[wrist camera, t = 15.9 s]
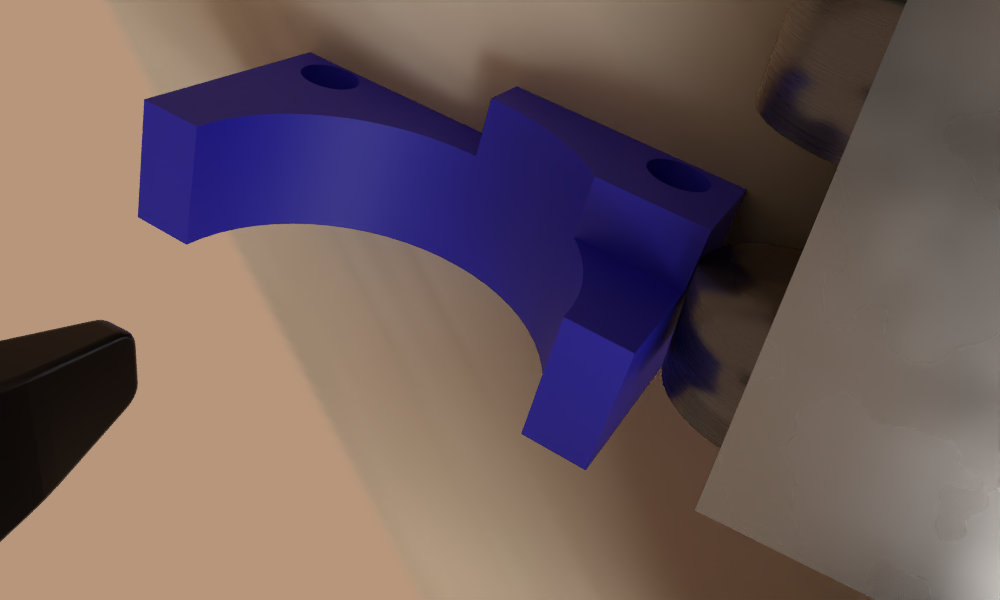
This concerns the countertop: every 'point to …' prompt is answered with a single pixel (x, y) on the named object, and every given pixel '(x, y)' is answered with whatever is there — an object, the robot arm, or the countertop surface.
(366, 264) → the countertop surface
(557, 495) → the countertop surface
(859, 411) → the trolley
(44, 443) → the robot arm
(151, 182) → the cable clip
